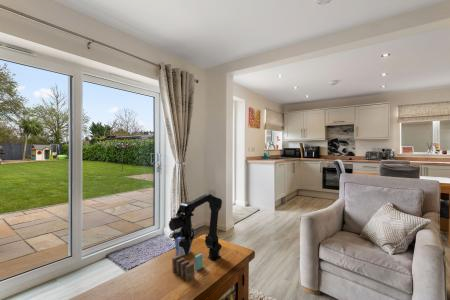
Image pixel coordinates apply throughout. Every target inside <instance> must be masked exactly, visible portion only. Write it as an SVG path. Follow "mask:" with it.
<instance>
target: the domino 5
mask: <svg viewBox="0 0 450 300" xmlns="http://www.w3.org/2000/svg"><path fill="white" fill-rule="evenodd" d="M203 267H204V265H203V254H202V253H199V254H196V255H195V256H194V271H196V272H197V271H198V270H200V269H202V268H203Z"/></svg>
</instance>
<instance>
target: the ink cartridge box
mask: <svg viewBox="0 0 450 300" xmlns="http://www.w3.org/2000/svg"><path fill="white" fill-rule="evenodd" d="M183 238H184V237H183ZM183 238H181V236H180V237H178V238H176V239H174V247H175V256H178V255H179V256H180V257H183V256H186V255H185V252H184V249H183V248H182V247H179V241H180V240H181V239H183ZM191 253H192V246H191V247H190V249H189V253H188V254H191Z"/></svg>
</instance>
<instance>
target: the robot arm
mask: <svg viewBox="0 0 450 300" xmlns="http://www.w3.org/2000/svg"><path fill="white" fill-rule="evenodd" d="M205 203H208V204H209V205H208V207H209V209H210V216H209V217H210V220H209V229H208V230H209V231H208V233H207V235H205V237H204V238H205V239H204V243H205V245H206V247H207V249H208V256H207V258H208V259H209V260H212V261H217V260H219V259H221V258H222V256H221V255H220V250H221V249H222V244H221V243H220V242H219V236H218V234H217V231H218V222H219V221H218V220H219V212H220V210H221V209H222V205H223V200H222V198H221V197H220V198H219V197H216V196H214V195H212V194H211V193H204V194H203V195H201V196H199V197H197V198H196V199H193V200H190V201H185V202H181V203H180V204H179V207H178V209H177V212H176V213H175V216H174V217H170V220H169V221H168V227H169V229H170V231H172V234H171V238H172V239H174V240H175V239H176V238H178V237H180V236H181V238H183V237H184V238H183V239H181V240H180V241H179V247H182V248H183V249H184V252H185V255H184V256H189V254H190V253H189V249H190V247H191V248H192V243H193V240H194V237H195V234H196V229H195V228H194V227H193V224H192V217H193V216H194V215H195V214H194V213H193V212H194V211H195V210H196V208H198V207H200V206H201V205H204V204H205Z"/></svg>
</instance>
